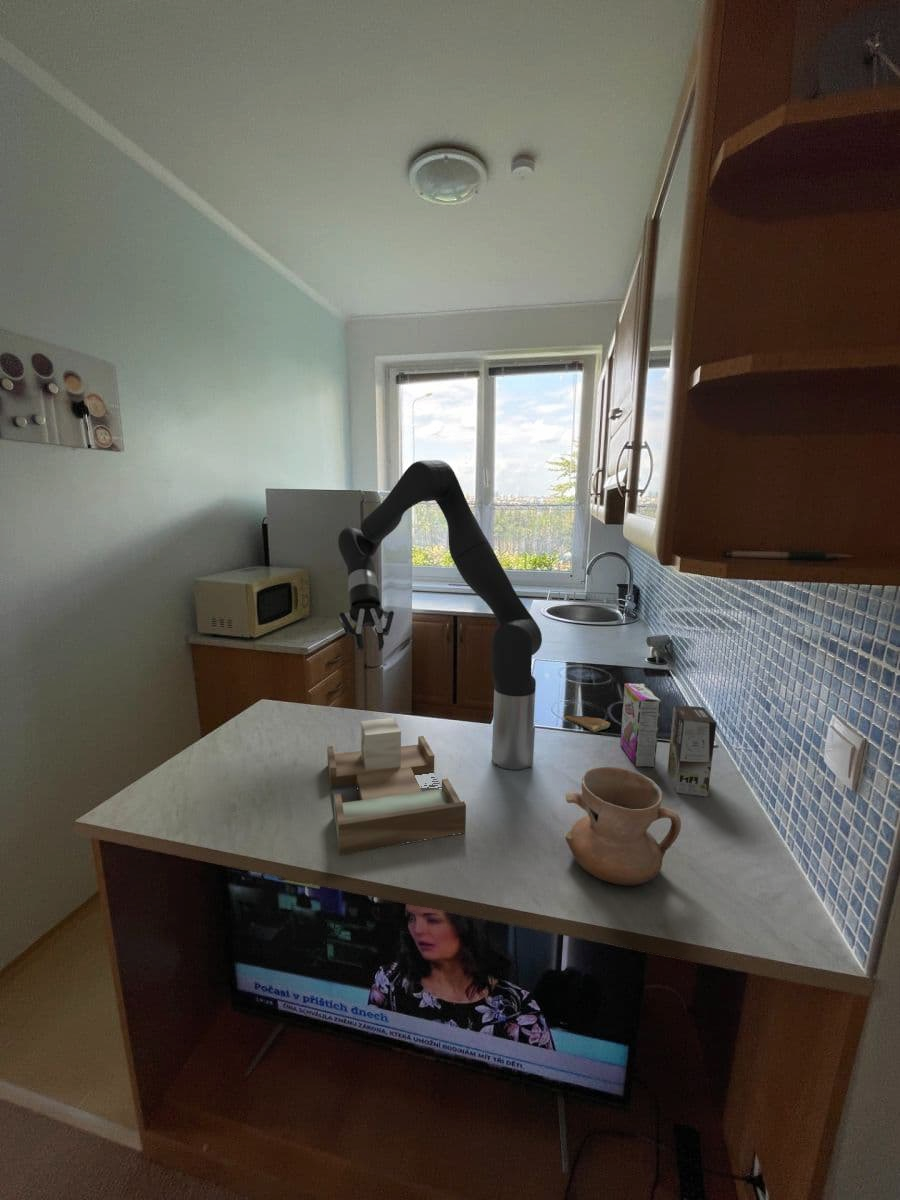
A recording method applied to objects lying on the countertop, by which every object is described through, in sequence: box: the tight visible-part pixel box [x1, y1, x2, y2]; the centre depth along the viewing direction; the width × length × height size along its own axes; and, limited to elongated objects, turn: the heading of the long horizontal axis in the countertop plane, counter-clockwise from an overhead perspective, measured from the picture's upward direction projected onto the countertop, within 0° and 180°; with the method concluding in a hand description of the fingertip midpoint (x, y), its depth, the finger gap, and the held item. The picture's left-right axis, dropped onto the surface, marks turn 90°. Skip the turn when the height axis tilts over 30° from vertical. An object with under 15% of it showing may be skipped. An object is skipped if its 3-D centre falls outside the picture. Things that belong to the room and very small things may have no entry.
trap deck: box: [326, 735, 467, 856], centre depth 101 cm, size 31×22×6 cm
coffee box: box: [666, 704, 717, 797], centre depth 107 cm, size 9×6×16 cm
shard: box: [564, 714, 611, 733], centre depth 139 cm, size 11×8×2 cm
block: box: [360, 717, 402, 771], centre depth 110 cm, size 8×8×8 cm
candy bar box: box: [619, 682, 662, 768], centre depth 119 cm, size 11×5×16 cm, turn 179°
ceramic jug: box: [564, 765, 682, 886], centre depth 81 cm, size 18×14×14 cm
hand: (370, 649), depth 120 cm, fingers open, 3 cm apart
